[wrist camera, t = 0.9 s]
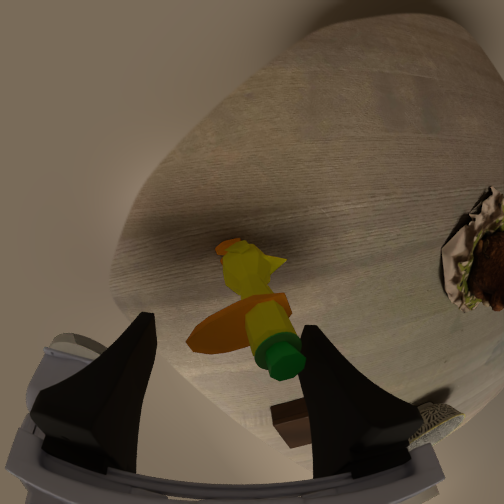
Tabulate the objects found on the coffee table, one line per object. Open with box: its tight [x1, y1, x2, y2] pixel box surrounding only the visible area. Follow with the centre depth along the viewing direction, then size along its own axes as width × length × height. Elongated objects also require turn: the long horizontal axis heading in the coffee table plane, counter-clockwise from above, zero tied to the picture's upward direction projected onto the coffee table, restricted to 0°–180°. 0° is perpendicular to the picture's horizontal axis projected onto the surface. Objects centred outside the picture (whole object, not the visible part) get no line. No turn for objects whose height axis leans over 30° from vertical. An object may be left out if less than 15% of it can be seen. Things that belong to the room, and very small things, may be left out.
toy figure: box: [186, 238, 306, 381], centre depth 15 cm, size 7×4×12 cm, turn 111°
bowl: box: [407, 402, 465, 451], centre depth 36 cm, size 16×16×8 cm
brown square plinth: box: [271, 398, 312, 449], centre depth 32 cm, size 10×7×3 cm
